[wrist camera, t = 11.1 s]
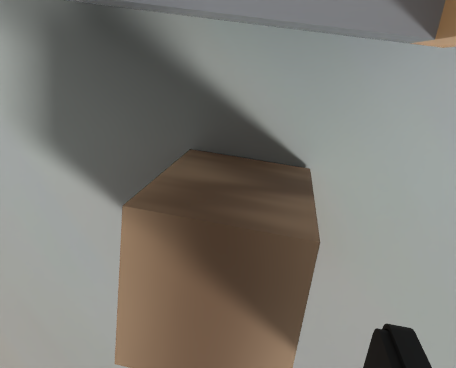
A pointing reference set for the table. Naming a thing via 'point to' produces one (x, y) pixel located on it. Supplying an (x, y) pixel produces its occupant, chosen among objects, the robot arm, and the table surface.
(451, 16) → the grey and tan frame
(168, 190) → the walnut block
